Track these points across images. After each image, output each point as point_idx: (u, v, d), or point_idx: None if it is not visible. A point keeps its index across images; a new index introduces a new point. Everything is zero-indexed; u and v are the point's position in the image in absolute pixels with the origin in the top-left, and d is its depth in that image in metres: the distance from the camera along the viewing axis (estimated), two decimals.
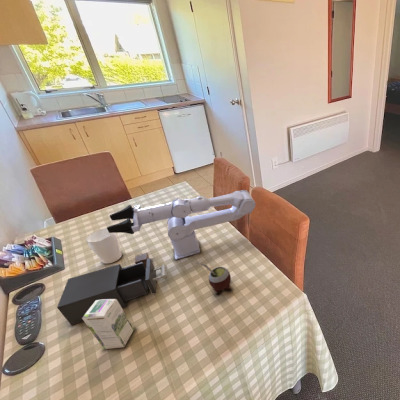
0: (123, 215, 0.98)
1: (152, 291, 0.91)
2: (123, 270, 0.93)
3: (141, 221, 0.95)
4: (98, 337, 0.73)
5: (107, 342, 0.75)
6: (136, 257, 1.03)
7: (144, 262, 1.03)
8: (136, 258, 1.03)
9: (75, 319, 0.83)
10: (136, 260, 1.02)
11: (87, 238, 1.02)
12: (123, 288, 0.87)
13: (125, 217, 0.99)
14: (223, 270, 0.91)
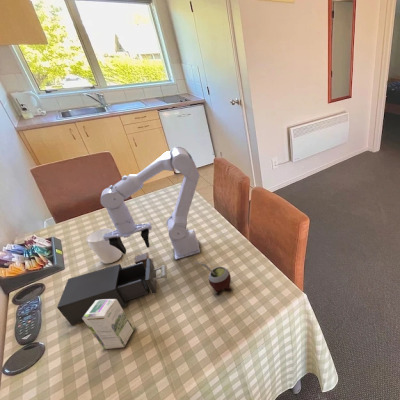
0: (121, 244, 0.97)
1: (152, 291, 0.91)
2: (123, 270, 0.93)
3: (135, 225, 0.97)
4: (98, 337, 0.73)
5: (107, 342, 0.75)
6: (136, 257, 1.03)
7: (144, 262, 1.03)
8: (136, 258, 1.03)
9: (75, 319, 0.83)
10: (136, 260, 1.02)
11: (87, 238, 1.02)
12: (123, 288, 0.87)
13: (120, 242, 0.98)
14: (223, 270, 0.91)
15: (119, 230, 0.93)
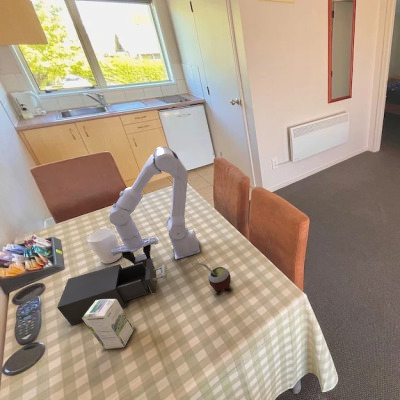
0: (133, 257, 1.02)
1: (152, 291, 0.91)
2: (123, 270, 0.93)
3: (142, 240, 1.01)
4: (98, 337, 0.73)
5: (107, 342, 0.75)
6: (136, 257, 1.03)
7: (144, 262, 1.03)
8: (137, 258, 1.03)
9: (75, 319, 0.83)
10: (136, 260, 1.02)
11: (87, 238, 1.02)
12: (123, 288, 0.87)
13: (132, 254, 1.02)
14: (223, 270, 0.91)
15: (127, 245, 0.96)
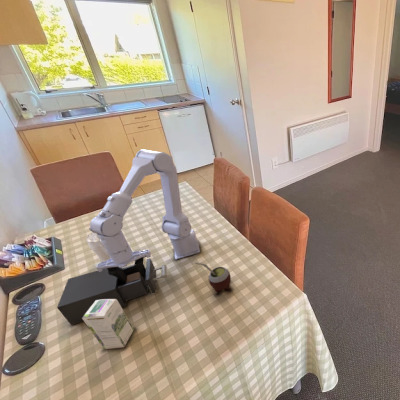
0: (121, 272, 0.89)
1: (152, 291, 0.91)
2: (123, 270, 0.93)
3: (132, 253, 0.88)
4: (98, 337, 0.73)
5: (107, 342, 0.75)
6: (128, 277, 0.92)
7: None
8: (128, 277, 0.91)
9: (75, 319, 0.83)
10: (128, 280, 0.90)
11: (87, 238, 1.02)
12: (123, 288, 0.87)
13: (120, 270, 0.90)
14: (223, 270, 0.91)
15: (114, 260, 0.84)
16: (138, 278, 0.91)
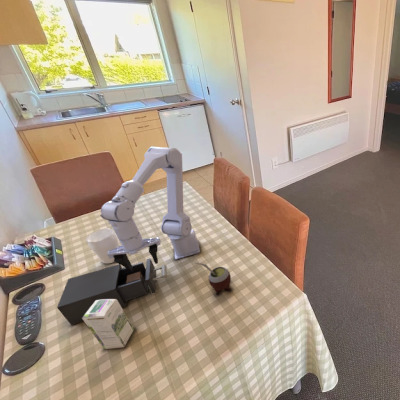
0: (127, 261, 0.88)
1: (152, 291, 0.91)
2: (123, 270, 0.93)
3: (143, 240, 0.88)
4: (98, 337, 0.73)
5: (107, 342, 0.75)
6: (128, 277, 0.92)
7: None
8: (128, 277, 0.91)
9: (75, 319, 0.83)
10: (128, 280, 0.90)
11: (87, 238, 1.02)
12: (123, 288, 0.87)
13: (126, 258, 0.89)
14: (223, 270, 0.91)
15: (125, 246, 0.84)
16: (138, 278, 0.91)
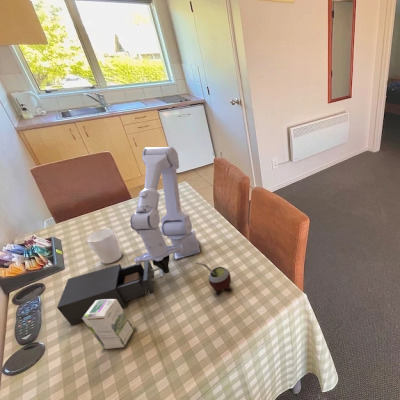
0: None
1: (150, 292, 0.91)
2: (121, 271, 0.93)
3: (167, 248, 0.93)
4: (98, 337, 0.73)
5: (107, 342, 0.75)
6: (126, 277, 0.92)
7: None
8: (126, 278, 0.91)
9: (75, 319, 0.83)
10: (125, 281, 0.90)
11: (87, 238, 1.02)
12: (121, 289, 0.86)
13: None
14: (223, 270, 0.91)
15: (151, 253, 0.89)
16: (136, 279, 0.91)
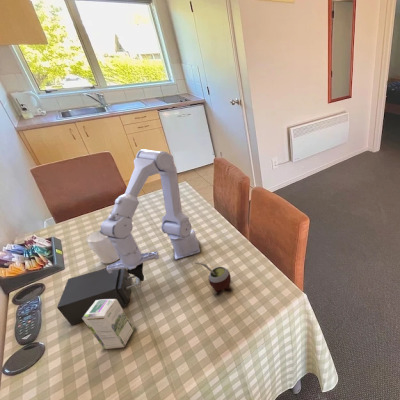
0: None
1: (125, 300, 0.88)
2: None
3: (141, 255, 0.90)
4: (98, 337, 0.73)
5: (107, 342, 0.75)
6: None
7: None
8: None
9: (75, 319, 0.83)
10: None
11: (87, 238, 1.02)
12: None
13: None
14: (223, 270, 0.91)
15: (124, 262, 0.86)
16: None
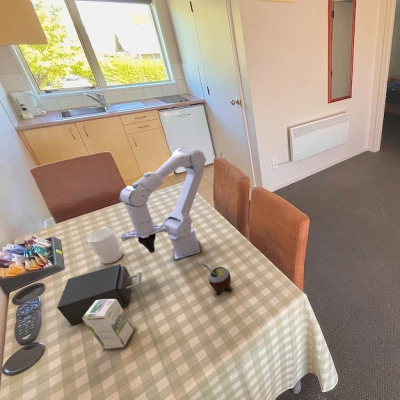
0: (148, 243, 0.96)
1: (125, 300, 0.88)
2: None
3: (154, 226, 0.95)
4: (98, 337, 0.73)
5: (107, 342, 0.75)
6: None
7: None
8: None
9: (75, 319, 0.83)
10: None
11: (87, 238, 1.02)
12: None
13: None
14: (223, 270, 0.91)
15: (137, 230, 0.90)
16: None
